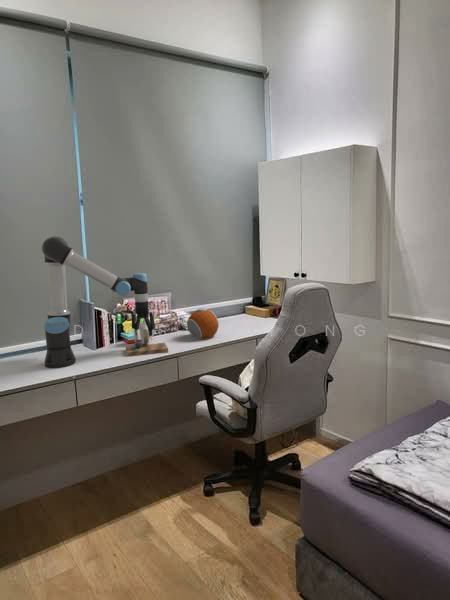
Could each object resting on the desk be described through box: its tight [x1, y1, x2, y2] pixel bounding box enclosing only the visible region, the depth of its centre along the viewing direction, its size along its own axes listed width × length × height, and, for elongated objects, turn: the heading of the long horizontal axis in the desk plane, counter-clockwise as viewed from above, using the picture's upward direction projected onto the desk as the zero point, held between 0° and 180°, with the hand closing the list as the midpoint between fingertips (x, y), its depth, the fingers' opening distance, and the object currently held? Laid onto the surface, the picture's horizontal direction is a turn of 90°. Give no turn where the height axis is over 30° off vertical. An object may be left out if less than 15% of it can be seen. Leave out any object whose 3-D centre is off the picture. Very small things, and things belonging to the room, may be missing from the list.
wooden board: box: [125, 342, 169, 357], centre depth 264 cm, size 22×13×2 cm, turn 105°
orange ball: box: [186, 307, 220, 340], centre depth 291 cm, size 19×18×17 cm
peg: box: [131, 329, 149, 350], centre depth 263 cm, size 13×3×9 cm, turn 149°
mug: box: [133, 322, 155, 344], centre depth 282 cm, size 12×9×11 cm
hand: (144, 341), depth 269 cm, fingers open, 6 cm apart
